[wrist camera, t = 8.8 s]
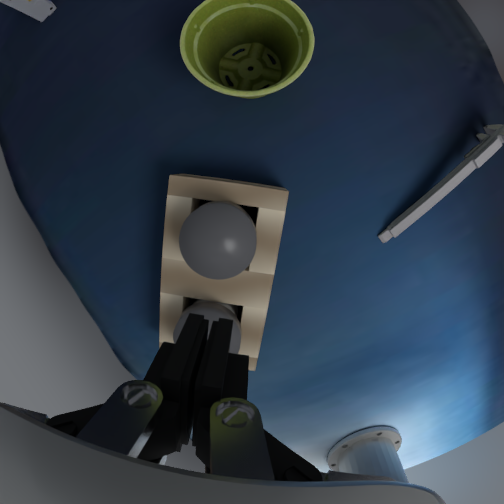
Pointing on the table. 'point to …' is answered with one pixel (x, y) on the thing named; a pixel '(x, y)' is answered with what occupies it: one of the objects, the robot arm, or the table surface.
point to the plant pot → (247, 45)
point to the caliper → (448, 180)
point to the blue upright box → (32, 7)
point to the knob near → (218, 240)
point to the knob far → (213, 319)
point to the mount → (232, 289)
